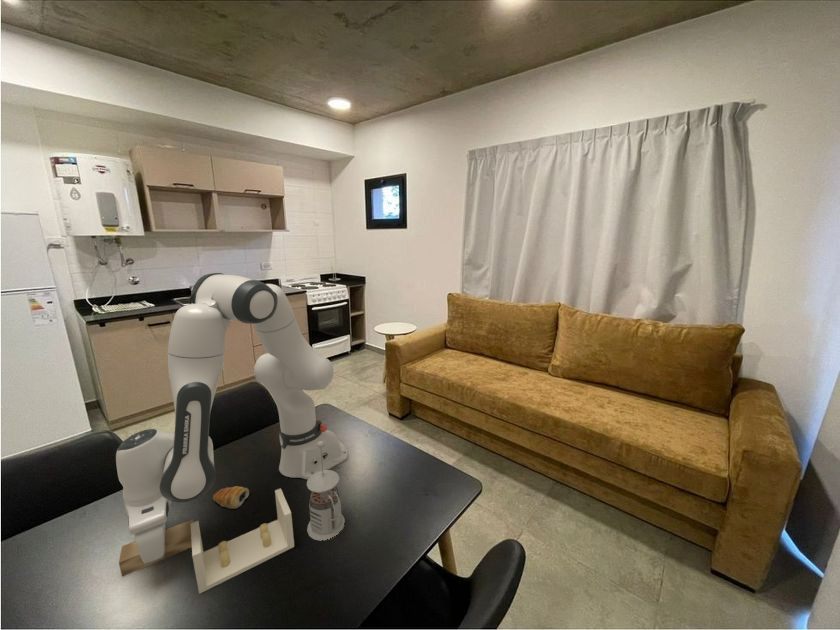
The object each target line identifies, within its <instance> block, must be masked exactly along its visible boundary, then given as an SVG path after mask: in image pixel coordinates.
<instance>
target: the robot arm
mask: <svg viewBox="0 0 840 630" xmlns="http://www.w3.org/2000/svg"><path fill="white" fill-rule="evenodd" d="M232 321H236V322H241V323H243V324H248V325H249V324H251V325H254V328H255V331H256V333H257V336H258V338H259V340H260V343H261V345H262V348H263V349H264V350H265V351H266V352H267V353H263V354H262V355H260V356H259V357H258V358H257V360H256V361H255V364H254V368H253V373H254V377H255V379H256V381H258V382H259V383H261V384H262V385H263V387H264V388H265V389H266V390H267V391H268V393H269V394H270V395H271V397H272V399H273V401H274V402H275V404H276V407H277V412H278V416H279V417H278V419H279V425H280V427H279V428H278V429H279V432H278V433H279V435H278V436H279V443H280V446H281V453H280V462H279V464H278V465H279V466H278V471H279V472H280V474H281V475H283V476H285V477H287V478H288V477H289V478H297V479H298V478H299V479H300V478H301V479H304V480H308V479H309V478H310V476H312V475H313V474H314V473H316V472H319V471H322V462H323V470H331V469H332V468H334V467H335V466H338V465H339V464H340V463H343V462H344V461H345V462H346V460H348V457H349V453H348V449H347V448H346V446H345V444H344V443H343V442H341V441H340V440H339V439H338V438H339V437H338V436H337V435H336V434H335V433H334V432H333V431H331V430H330V429H328V427H327V426H326V425H325V424H324V423H322V421H321V420H319V418H317V417H316V404H315V402H314V401H315V400H313V398H312V397H311V396H310V395H309V394H307V393H306V392H305V391H308V392H309V391H318V390H319V391H320V390H325V389H326V388H327V387H329V385H330V384H331V383H332V380H333V378H334V374H335V371H334V366H333V364H332V362H331V360H329V359H328V358H326V357H325V356H323V355H322V354H320V353H319V352H317V351H316V350H315V349H314V348H313V347H312V346H311V345H310V343H309V342H308V341H307V340H306V338H305V337H304V336H303V333H302V332H301V329H300V327H299V323H298V321H297V318H296V315H295V312H294V309H293V307H292V305H291V303H290V301H289V299H288V297H287V295H286V293H285V292H284V290H283V289H282V287H280V286H278V285H276V284H273V283H264V282H262V281H260V280H257V279H252V278H248V277H246V276H243V275H238V274H237V275H235V274H234V275H233V274H225V273H222V272H213V273H207V274H204V275H202V276H201V277H199V278H198V280H196V282H195V283H194V285H193V287H192V291H191V295H190V296H189V299H188V304H186V305H184V306H182V307H180V308H178V309H177V311H176V312H175V314H174V317H173V320H172V323H171V327H170V330H169V331H170V332H169V338H168V343H167V344H168V345H167V372H168V373H167V374H168V379H169V384H170V385H169V386H170V389H171V396H172V400H173V406H174V414H175V415H174V416H175V420H174V432H166V431H162V430H159V429H156V428H149V429H143V430H140V431H138V432H136V433H134V434H131V435H130V436H128V437H127V438H126V439H124V441H122V443H120V444H119V446H118V447H117V450H116V453H115V463H116V464H115V465H116V470H117V471H116V472H117V478H118V481H119V482H120V484H121V485H122V487H123V488H122V500H123V504H124V508H125V512H126V513H125V514H126V517H127V519H128V520H127V521H128V525H127V526H128V530H129V531H128V532H129V535H131V536H133V535H134V540H135V541H136V545H137V548H138V551H139V554H140V556H141V559H142V561H143V562H144V563H145V564H147V563H150V562H153V561H155V560H158V559H161V558H163V557H164V555H165V530H166V524H167V523H166V522H167V521H168V517H169V511H170V508H171V505H172V502H174V503H187V502H191V501H194V500H196V499H198V498H200V497H202V496H204V495H205V494H206V493H207V492H209V491H210V490H211V488H212V487H213V486H214V483H215V482H216V479H217V474H216V467H215V458H214V443H213V439H212V438H211V436H210V419H211V410H212V408H213V407H212V406H213V403H214V398H215V396H216V392H217V388H218V385H219V382H220V378H221V374H222V370H223V365H224V359H225V350H226V332H227V330H228V328H229V327H230V325H231V323H232ZM319 441H323V442H324V443H325V446H324V447H322V462H321V448H318V447H317V443H318V442H319Z"/></svg>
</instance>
